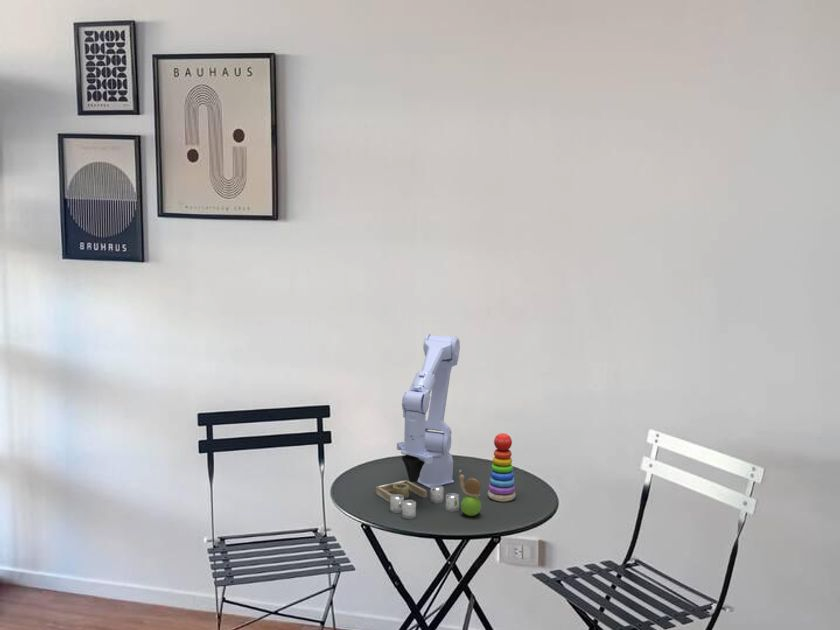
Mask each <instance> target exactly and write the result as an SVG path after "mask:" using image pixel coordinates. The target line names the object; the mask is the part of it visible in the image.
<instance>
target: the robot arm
mask: <svg viewBox="0 0 840 630" xmlns="http://www.w3.org/2000/svg"><path fill="white" fill-rule="evenodd" d="M460 344H461V342H460V339H459V337H458V336H448V335H437V334H430V333H429V334H428V333H427V335H425V337H424V340H423V344H422V345H423V352H424V357H425V358H424V362H423V363H422V364H423V365H422V368H421V370H420V371H418V372H417V373H415V376H414V378H413V381H412V382H411V386H410V388H409V390H407V391H406V392H404V393H403V395H402V400H401V409H402V417H403V418H404V434H403V435H404V437H403V438H404V440H403V441H400V442H397V443H396V450H397V451H400V453H401V455H402V456H401V460H402V461H403V464H404V466H405V469H406V473H407V476H408V481H410V482H412V483H413V484H414V483H418V484H421V485H422V486H424V487H426V488H428V489H431V486H433V485H441V486H443V485H444V486H445V485H448V484H449V485H450V484H453V483H455V481H454V479H453V476H454V475H453V470H454V459H453V455H452V454H451V453H450V451H451V446H452V429H451V427H450V426H449V425H448V424H447V423H446V422H445V413H446V409H447V408H446V407H447V400H448V392H449V385H450V378H451V374H452V373H451V372H452V369H453V367H455V366H457V365H458V362H459V358H460V350H461V349H460V348H461V345H460ZM427 412H428V416H427ZM426 417H427V418H426Z"/></svg>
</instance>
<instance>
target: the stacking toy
mask: <svg viewBox="0 0 840 630" xmlns="http://www.w3.org/2000/svg"><path fill="white" fill-rule="evenodd" d="M512 444H513V440H512V437H511V436H510V435H509V434H508V433H503V432H502V433H498V434H497V435H496V436H495V437H494V439H493V445H494V447H495V448H496V449H495V450H494V451H493V457H492V464H491V472H490V478H489V484H488V491H487V496H488V498H490V499H492V500H493V501H497V502H509V501H512V500H514V499H515V497H516V495H517V494H516V492H515V490H516V489H515V488H516V486H515V478H514V476H515V474H514V471H513V469H514V466H513V464H512V463H513V459H512V451H511V450H510V449H511V447H512Z"/></svg>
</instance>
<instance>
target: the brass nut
mask: <svg viewBox="0 0 840 630" xmlns="http://www.w3.org/2000/svg"><path fill="white" fill-rule="evenodd" d="M409 491H410V490H409V486H408V484H404V483H397V484H393V491H392V495H393V494H401V495H403V496H404V499H407V498H409V496H410V495H409V494H410V492H409Z"/></svg>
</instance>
